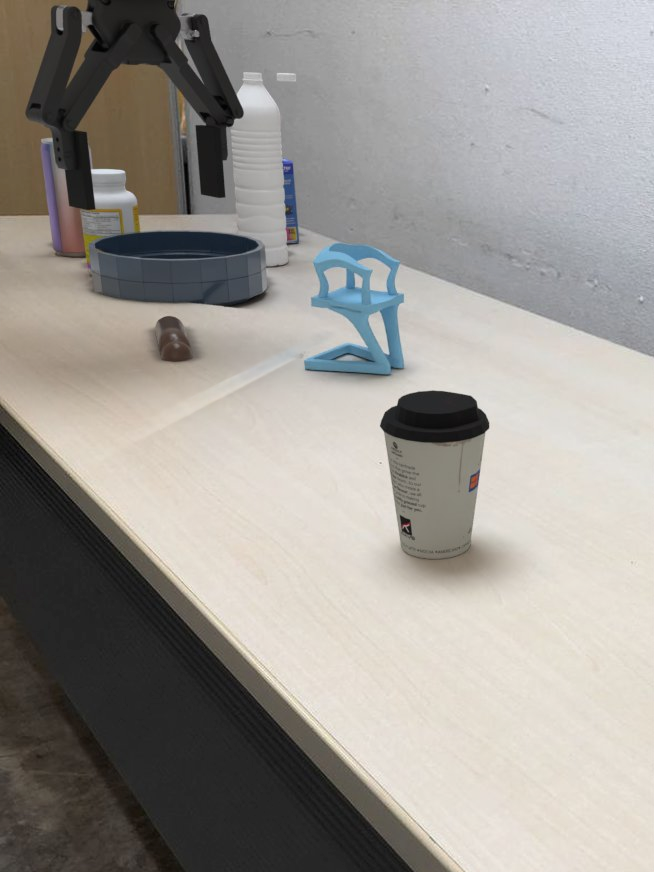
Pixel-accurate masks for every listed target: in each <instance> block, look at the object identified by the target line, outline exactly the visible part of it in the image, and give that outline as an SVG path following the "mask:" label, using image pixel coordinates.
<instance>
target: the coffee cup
mask: <svg viewBox="0 0 654 872" xmlns="http://www.w3.org/2000/svg"><path fill="white" fill-rule="evenodd" d="M379 428H381V431H383V434H384V441H385V448H386V453H387V461H388V467H389V474H390V481H391V482H390V483H391V487H392V489H391V490H392V495H393V501H394V509H395V515H396V522H397V529H398V535H399V541H400V547H401V548H402V551H403V552H405V553H407V554H408V555H410V556H413V557H416V558H420V559H427V560H433V559H434V560H441V559H448V558H453V557H456V556H460V555H462V554H463V553H465V552H467V551H468V549H469V548H470V547H471V542H472V533H473V526H474V519H475V511H476V506H477V505H476V504H477V497H478V491H479V483H480V477H481V476H480V475H481V468H482V460H483V454H484V453H483V452H484V447H485V441H486V440H485V439H486V433H487V431H488V430H489V429H490V420H489V419H488V416H487V413H485V411H483V410H482V409H481V408H479V406H478V401H477V400H476V398H474V396H472V395H469V394H464V393H458V392H452V391H445V390H423V391H415V392H410V393H406V394H404V395H402V396H400V397H399V398H398V400H397V404H396V405H394V406H391V407H390V408H388V409H387V410H386V411H385V412H384V413H383V416H382V418H381V420H380V424H379Z"/></svg>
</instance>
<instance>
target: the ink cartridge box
mask: <svg viewBox="0 0 654 872" xmlns="http://www.w3.org/2000/svg"><path fill="white" fill-rule="evenodd" d="M282 158H283V161H282V163H283V167H282V169H283V175H284V185H283V188H284V192H285V200H284V203H285V216H286V228H285V229H286V232H287V243H286V245H287V244H298V243H299V242H300V232H299V231H300V230H299V219H298V217H299V216H298V208H297V206H298V205H297V194H296V182H295V170H294V168H295V167H294V161H293V160H291V159H287V158H284V157H282Z"/></svg>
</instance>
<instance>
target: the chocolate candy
mask: <svg viewBox="0 0 654 872" xmlns="http://www.w3.org/2000/svg"><path fill="white" fill-rule="evenodd" d="M154 333H155V336H156V340H157V344H158V345H157V346H158V350H159V354H160V357H161V360H162V361H166V362H185V361H189V360H191V359H193V357H194V354H193V351H192V347H191V344H190V341H189V338H188V335H187V332H186V329H185V326H184V324H183V322H182V321H181V320H180V318H178V317H176V316H173V315H166V316H163V317H161V318H159V319H158V320H157V321H156V323H155V327H154Z"/></svg>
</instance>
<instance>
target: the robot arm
mask: <svg viewBox="0 0 654 872" xmlns="http://www.w3.org/2000/svg"><path fill="white" fill-rule="evenodd" d="M175 3H176V0H87V5H86V9H85V10H82V9H80V8H78V7H77V6H73V5H63V4H61V5H59V4H54V5H53V6H52V7H51V8H50V36H49V38H48V42H47V45H46V47H45V50H44V53H43V57H42V60H41V63H40V66H39V69H38V71H37V75H36V78H35V81H34V83H33V86H32V90H31V93H30V96H29V99H28V102H27V105H26V108H25V111H24V113H25V117H26V119H27V120H29V121H30V122H35V123H37V124H41V125H43V126H44V127H46V128H48V129H50V132H51V138H52V139H53V147H54V155H55V162H56V164H57V166H58V168H60V169H65V176H66V184H67V192H68V200H69V206H71V207H75V208H80V209H84V210H95V200H94V192H93V183H92V174H91V165H90V157H89V148H88V145H89V139H88V132H87V131H83V130H76V129H77V128H78V127H79V125H80V123H81V121H83V119H84V117H85V115H86V113H88V110H89V109H90V108H91V106H92V105H93V103H94V101H95V99H96V98H97V96H98V94H99V93H100V91H102V88H103V87H104V85H105V84H106V82H107V80H108V79H109V77H110V76H111V75H112V73H113V71H115V70H117V69H118V68H119V67H120V66H121V65H125V66H126V65H127V66H139V65H145V66H146V65H147V66H156V67H157V68H159V69H161V70H162V71H163V72H164V73H165V75H166V76H167V77H168V78H169V80H170V81H171V83H173V85H174V87H176V89H177V90H178V91H179V92H180V94H181V95H182V96H183V98H184V99H185V100H186V102H187V103H188V104H189V105H190V107H191V108H192V109H193V111H194V112H195V113H196V114H197V115H198V117H199V118H200V119H201V121H202V122H203V123H204V124H195V126H194V127H195V138H196V150H197V163H198V164H197V165H198V176H199V188H200V189H199V190H200V196H201V195H202V196H207V197H212V198H217V199H225V198H226V186H225V184H226V183H225V171H224V161H228V156H229V150H228V136H227V128H231V127H232V126H233V124H234V120H235V119H241V118H242V117H243V115H244V111H243V108H242V106H241V104H240V102H239V99H238V97H237V93H236V91H235V89H234V86H233V84H232V82H231V80H230V78H229V76H228V74H227V71H226V69H225V67H224V64H223V62H222V60H221V58H220V56H219V54H218V51H217V49H216V47H215V45H214V43H213V40H212V36H211V29H210V22H209V19H208V17H207V15H205V14H203V13H191V12H184V13H182V14H180V15H178V14H177V11H176V7H175V6H176V4H175ZM88 30H89V31H88ZM87 31H88V32H90V34H91V35H92V37H93V40H92V42H91V43H90V45H89V46H88V48H87V49H86V51H85V52H84V55H83V57H84V60H83V61H82V63H81V65H80V66H79V68H78V69H77V71H76V72H75V74H74V75H73V77H72V78H71V74H72V71H73V68H74V65H75V62H76V58H77V56H78V54H79V50H80V46H81V43H82V36H84V34H85V33H86V32H87ZM178 36H180V37H181V38H182V39H183V41H184V44H185V47H186V50H187V52H188V54H189V56H190V58H191V60H192V62H193V64H194V66H195V68H196V70H197V73H198V74H199V76H198V75H197V73H196V72H195V70H194V69H193V68H192V67H191V65H190V64H189V58H188V57H187V55H186V54H185V53H184V52H183V50H182V49H181V48H180V46H179V44H177V42H176V40H177V38H178ZM70 78H71V80H70ZM69 80H70V81H69Z"/></svg>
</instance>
